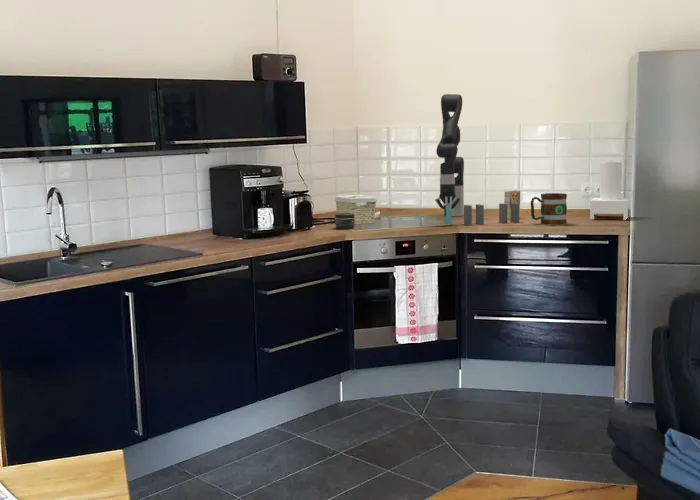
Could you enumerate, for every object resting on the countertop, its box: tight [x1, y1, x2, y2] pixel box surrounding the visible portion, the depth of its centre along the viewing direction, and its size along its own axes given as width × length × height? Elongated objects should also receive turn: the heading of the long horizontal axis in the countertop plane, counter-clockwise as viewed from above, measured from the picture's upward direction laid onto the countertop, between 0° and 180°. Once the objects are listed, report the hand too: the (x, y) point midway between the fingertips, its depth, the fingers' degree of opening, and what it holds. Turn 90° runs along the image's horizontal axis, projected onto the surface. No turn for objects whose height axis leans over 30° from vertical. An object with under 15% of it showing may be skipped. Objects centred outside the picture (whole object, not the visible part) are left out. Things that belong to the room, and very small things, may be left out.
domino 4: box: [510, 203, 520, 224], centre depth 418 cm, size 2×5×10 cm, turn 12°
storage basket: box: [335, 194, 377, 225], centre depth 435 cm, size 24×16×15 cm
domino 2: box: [475, 203, 485, 226], centre depth 414 cm, size 2×5×10 cm, turn 12°
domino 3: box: [498, 203, 508, 225], centre depth 417 cm, size 2×5×10 cm, turn 12°
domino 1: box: [463, 204, 473, 226], centre depth 413 cm, size 2×5×10 cm, turn 12°
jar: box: [334, 213, 356, 231], centre depth 408 cm, size 10×10×8 cm
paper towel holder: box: [589, 160, 629, 221], centre depth 429 cm, size 19×19×30 cm
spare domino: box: [443, 204, 452, 225], centre depth 410 cm, size 2×5×10 cm, turn 10°
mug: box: [530, 192, 568, 226], centre depth 409 cm, size 20×14×15 cm
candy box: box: [503, 189, 521, 221], centre depth 435 cm, size 9×4×15 cm, turn 129°
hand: (447, 216), depth 410 cm, fingers closed on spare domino
